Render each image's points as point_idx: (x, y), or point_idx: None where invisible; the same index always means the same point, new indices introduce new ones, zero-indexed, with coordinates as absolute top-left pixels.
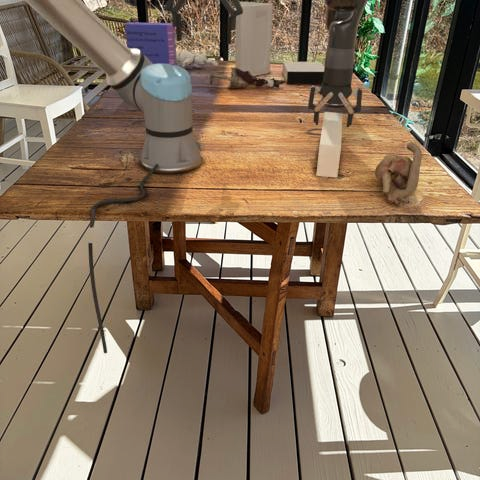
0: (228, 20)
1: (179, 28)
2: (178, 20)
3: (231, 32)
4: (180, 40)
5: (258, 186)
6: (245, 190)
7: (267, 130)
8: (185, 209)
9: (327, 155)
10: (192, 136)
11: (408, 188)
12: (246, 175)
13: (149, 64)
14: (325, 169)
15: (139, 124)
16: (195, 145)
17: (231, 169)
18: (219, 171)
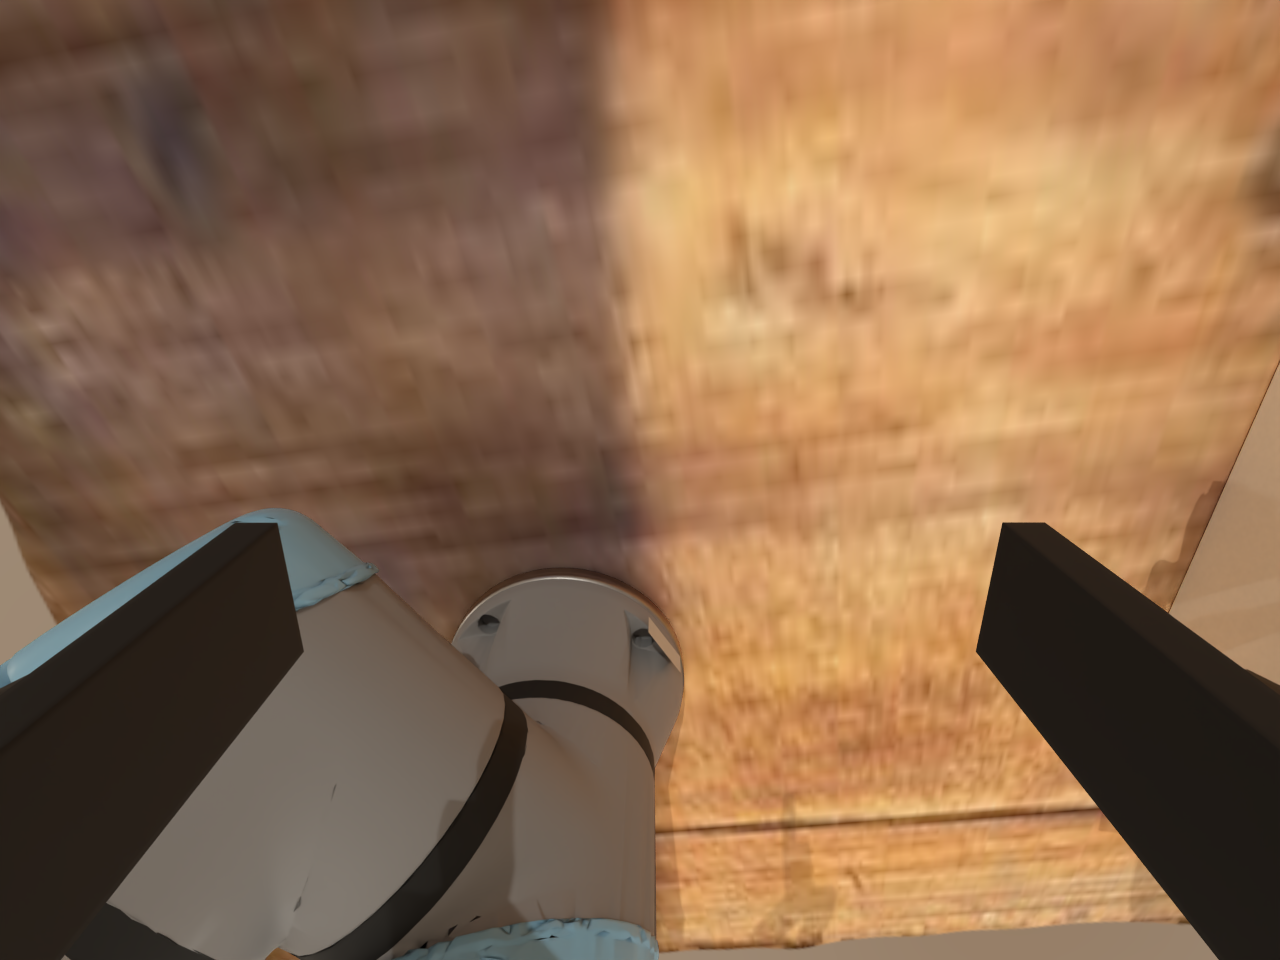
0: (1229, 951)
1: (201, 752)
2: (99, 895)
3: (1145, 601)
4: (291, 593)
5: (899, 801)
6: (855, 827)
7: (1012, 168)
8: (691, 926)
9: None
10: (656, 757)
11: None
12: (861, 734)
13: (274, 904)
14: None
15: (203, 171)
16: (668, 730)
17: (805, 695)
18: (762, 714)
